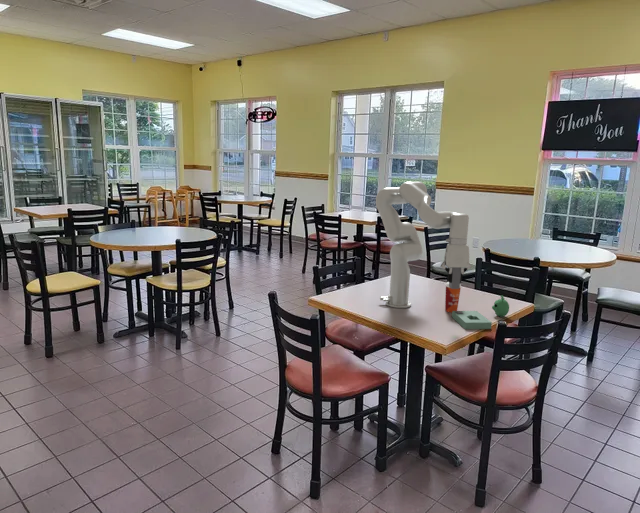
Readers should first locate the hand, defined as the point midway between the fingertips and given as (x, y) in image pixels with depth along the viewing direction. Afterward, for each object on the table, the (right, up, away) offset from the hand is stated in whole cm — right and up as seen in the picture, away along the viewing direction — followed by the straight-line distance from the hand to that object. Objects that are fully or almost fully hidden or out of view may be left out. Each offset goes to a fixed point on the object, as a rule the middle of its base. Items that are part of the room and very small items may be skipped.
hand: (454, 281), depth 212 cm
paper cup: (+4, -16, +22) cm, 27 cm away
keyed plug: (0, -3, 0) cm, 3 cm away
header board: (+9, -19, +6) cm, 22 cm away
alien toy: (+26, -18, +16) cm, 35 cm away
